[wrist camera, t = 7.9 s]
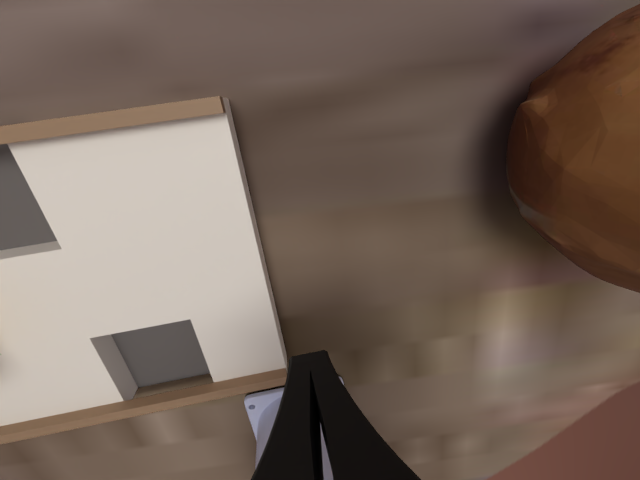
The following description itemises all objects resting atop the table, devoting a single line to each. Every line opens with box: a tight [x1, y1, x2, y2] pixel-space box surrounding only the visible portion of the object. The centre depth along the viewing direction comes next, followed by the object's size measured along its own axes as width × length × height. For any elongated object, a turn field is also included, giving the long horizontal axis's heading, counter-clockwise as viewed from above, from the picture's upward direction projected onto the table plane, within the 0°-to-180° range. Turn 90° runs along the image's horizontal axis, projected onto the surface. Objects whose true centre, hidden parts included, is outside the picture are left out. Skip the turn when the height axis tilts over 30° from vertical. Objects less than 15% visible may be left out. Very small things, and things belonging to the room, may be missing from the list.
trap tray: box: [0, 96, 287, 444], centre depth 17 cm, size 18×22×4 cm
